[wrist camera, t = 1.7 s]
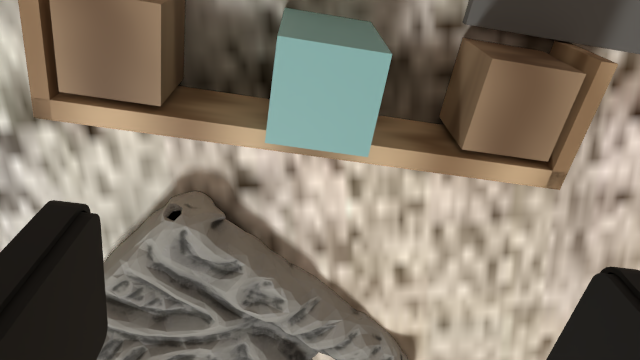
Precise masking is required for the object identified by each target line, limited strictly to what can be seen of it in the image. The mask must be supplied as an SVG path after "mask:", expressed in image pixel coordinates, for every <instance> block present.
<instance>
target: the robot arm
mask: <svg viewBox="0 0 640 360" xmlns="http://www.w3.org/2000/svg"><path fill="white" fill-rule="evenodd" d="M107 329H108V320H107V306H106V292H105V278H104V265H103V251H102V237H101V223H100V217H99V215H98V214H93V213H90V209H89V207H88V205H86V204H80V203H71V202H63V201H55V200H53V201H49V202H48V203H47V204H45V205H44V207H43V208H42V209H41V210H40V211H39V212H38V213H37V214H36V215H35V216H34V217H33V218H32V219H31V220H30V221H29V223H28V224H27V225H26V226H25V227H24V228H23V229H22V230H21V231H20V232H19V233H18V234H17V235H16V236H15V237H14V239H13V240H12V241H11V242H10V243H9V244H8V245H7V246H6V247H5V248H4V249H3V250H2V251H1V252H0V360H97V357H98V355H99V353H100V351H101V349H102V347H103V345H104V342H105V339H106V335H107ZM546 360H640V271H639V270H635V269H626V268H618V267H606V268H605V269H603V270H602V271H601V272H600V273H598V274H596V275H595V276H594V277H593V278H592V280H591V281H590V283H589V285H588V287H587V288H586V290H585V292H584V294H583V296H582V297H581V299H580V301H579V303H578V304H577V306H576V308H575V310H574V312H573V313H572V315H571V317H570V319H569V320H568V322H567V324H566V326H565V327H564V329H563V331H562V333H561V335H560V336H559V338H558V340H557V342H556V343H555V345H554V347H553V349H552V351H551V352H550V354H549V356H548V358H547V359H546Z"/></svg>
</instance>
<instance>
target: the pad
mask: <svg viewBox="0 0 640 360" xmlns="http://www.w3.org/2000/svg"><path fill="white" fill-rule="evenodd" d="M463 23H464V24H466V25H472V26H478V27H484V28H490V29H496V30H501V31H507V32H513V33H519V34H525V35H531V36H537V37H542V38H548V39H554V40H560V41H566V42H572V43H578V44H583V45H589V46H595V47H601V48H607V49H613V50H619V51H624V52H630V53H636V54H640V0H469V2H468V6H467V9H466V13H465V16H464V19H463Z"/></svg>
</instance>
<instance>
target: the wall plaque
mask: <svg viewBox="0 0 640 360" xmlns="http://www.w3.org/2000/svg"><path fill="white" fill-rule="evenodd" d="M179 210H181V215H180V216H179V217H178V218H177V219H176V220H175V221H172V220H170V219H169V218H168V217H169V216H170V214H171V213H173V212H176V211H179ZM225 218H226V216H225V214H224V213H223V212H222V211H221V210H220V209H218V208H217V207H216V206H215V204H214V203H213V201H212V199H211V198H210V197H208V196H207V195H205V194H204V193H201V192H198V191H192V192H187V193H184V194H181V195H177V196H174V197H172V198H171V199H170V200H169V202H168V203H167V204H166V205H165V207H163V208H161V209H159V210H157V211H156V212H155V213H154V214H152V215H151V216H150V217H149V218H147V219H146V221H145V222H144V223H143V224H142V225H141V226H140V227H139V228H138V229H137V230H136V231H135V232H134V233H133V234H132V235H130V236H129V237H128V238H127V239H126V240H125V241H124V242H123V243H122V244H121V245H119V246H118V247H117V248H116V249H115V250H114V251H113V252H112V254H111V255H110V256H109V257H108V259H107V260H106V261H105V262H104V263H103V265H104V278H105V292H106V306H107V320H108V329H107V335H106V339H105V342H104V345H103V347H102V349H101V351H100V353H99V355H98V357H97V360H312V358H313V357H314V356H315V355H316V354H317V353H318V352H320V353H322V354H326V355H329V356H331V357H332V358H334V359H335V360H408V359H407V355H406V354H404V353H403V352H402V350H401V349H400V346H399V345H398V343H397V342H396V341H395V340H394V339H393V338H392V336H391V335H390V334H389V333H388V332H387V331H385V330H384V329H383V328H382V327H381V326H379V325H378V324H377V323H376V322H375V321H373V320H372V319H371V318H370V317H368V316H367V315H366V314H364V313H362V312H359V311H356V310H355V309H353V308H352V307H351V306H350V305H349V304H348V303H347V302H345V301H344V300H343V299H342V298H341V297H340V296H339V295H337V294H336V293H335V292H334V291H333V290H331V289H330V288H329V287H327V286H326V285H325V284H324V283H322V282H321V281H320V280H319V279H317V278H316V277H314V276H313V275H311V274H309V273H308V272H306V271H304V270H303V269H301V268H299V267H297V266H295V265H293V264H290V263H289V262H288V261H287V260H285V259H284V258H283V257H281V256H280V255H279V254H277V253H275V252H273V251H272V250H270V249H269V248H267V247H266V246H265V245H264V244H263V243H262V242H261V241H260V240H259V239H258V238H257V237H255V236H254V235H252V234H249V233H247V232H245V231H244V230H242V229H240V228H239V227H237V226H236V225H234V224H233V223H231V222H230V221H228V220H226V219H225Z"/></svg>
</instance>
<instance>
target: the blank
mask: <svg viewBox="0 0 640 360" xmlns="http://www.w3.org/2000/svg"><path fill="white" fill-rule="evenodd" d="M391 58H392V53H391V51H390V50H389V48H388V47H387V45H386V44H385V42H384V41H383V40H382V38H381V37H380V35H379V34H378V32H377V31H376V29H375V28H374V26H373V25H372V23H371V22H367V21H361V20H355V19H350V18H344V17H338V16H332V15H326V14H320V13H314V12H308V11H302V10H296V9H290V8H285V10H284V13H283V17H282V21H281V24H280V28H279V32H278V35H277V43H276V52H275V60H274V69H273V77H272V86H271V94H270V103H269V112H268V120H267V129H266V137H265V143H269V144H276V145H283V146H290V147H298V148H305V149H312V150H319V151H327V152H334V153H341V154H348V155H355V156H363V157H368V156H369V152H370V147H371V143H372V139H373V134H374V130H375V126H376V122H377V117H378V113H379V109H380V105H381V100H382V96H383V92H384V88H385V83H386V79H387V75H388V71H389V66H390V62H391Z"/></svg>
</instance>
